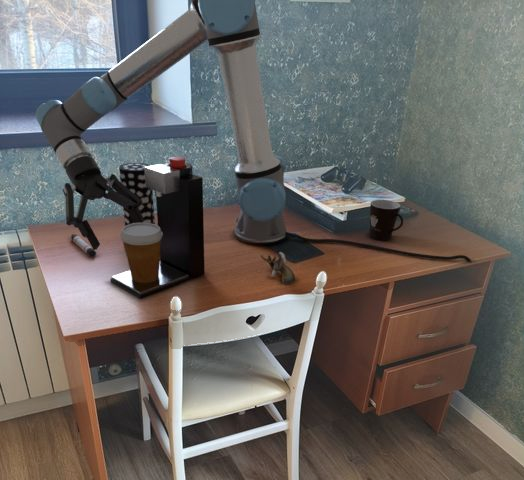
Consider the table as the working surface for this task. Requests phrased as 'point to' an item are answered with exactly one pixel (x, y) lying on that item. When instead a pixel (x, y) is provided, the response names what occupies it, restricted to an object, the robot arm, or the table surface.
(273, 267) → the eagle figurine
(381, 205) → the coffee mug
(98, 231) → the table surface
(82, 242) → the marker
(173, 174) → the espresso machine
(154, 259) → the disposable coffee cup
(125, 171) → the spotted tube
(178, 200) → the tower
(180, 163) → the button
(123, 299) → the table surface
